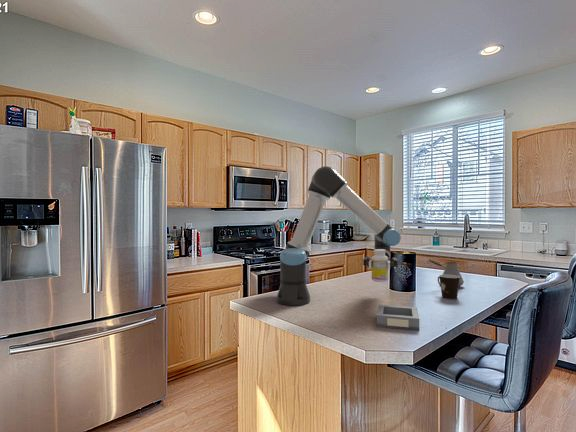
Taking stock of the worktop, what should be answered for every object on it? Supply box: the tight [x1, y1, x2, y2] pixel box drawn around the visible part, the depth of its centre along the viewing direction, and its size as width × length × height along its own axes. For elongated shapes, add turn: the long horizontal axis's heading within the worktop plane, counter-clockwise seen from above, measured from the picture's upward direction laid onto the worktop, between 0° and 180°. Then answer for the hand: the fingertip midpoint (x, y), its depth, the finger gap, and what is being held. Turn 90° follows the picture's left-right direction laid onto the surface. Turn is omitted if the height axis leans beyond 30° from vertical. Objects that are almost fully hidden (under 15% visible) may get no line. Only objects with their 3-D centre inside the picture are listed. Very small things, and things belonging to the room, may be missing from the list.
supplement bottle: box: [371, 249, 389, 283], centre depth 139 cm, size 7×7×13 cm
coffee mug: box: [437, 274, 460, 300], centre depth 159 cm, size 12×9×10 cm
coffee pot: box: [427, 259, 465, 288], centre depth 179 cm, size 21×12×15 cm, turn 109°
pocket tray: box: [376, 304, 420, 331], centre depth 123 cm, size 14×14×4 cm
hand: (379, 265), depth 134 cm, fingers closed on supplement bottle, 7 cm apart
